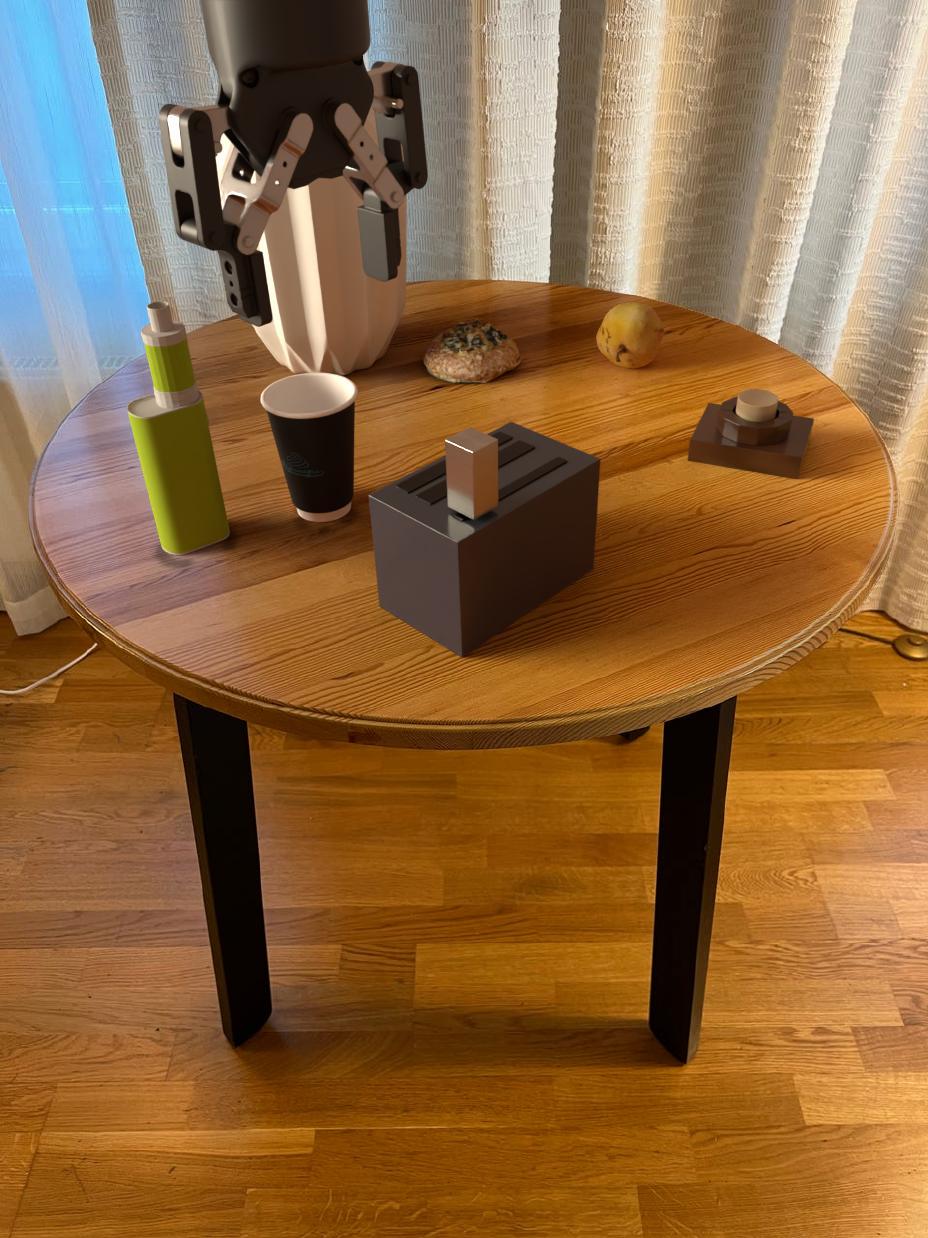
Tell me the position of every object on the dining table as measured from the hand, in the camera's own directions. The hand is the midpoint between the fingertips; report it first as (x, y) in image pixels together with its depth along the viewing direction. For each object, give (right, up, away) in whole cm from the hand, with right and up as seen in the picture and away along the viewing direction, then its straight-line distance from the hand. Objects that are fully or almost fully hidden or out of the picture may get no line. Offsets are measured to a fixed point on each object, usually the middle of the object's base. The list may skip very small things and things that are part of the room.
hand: (321, 298), depth 55 cm
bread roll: (+9, +11, +58) cm, 60 cm away
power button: (+35, +2, +39) cm, 52 cm away
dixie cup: (-5, -8, +35) cm, 36 cm away
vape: (-15, -10, +32) cm, 37 cm away
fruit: (+26, +11, +57) cm, 64 cm away
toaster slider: (+8, -10, +15) cm, 20 cm away
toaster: (+10, -15, +25) cm, 31 cm away
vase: (-7, +12, +61) cm, 63 cm away
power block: (+35, -1, +41) cm, 54 cm away
